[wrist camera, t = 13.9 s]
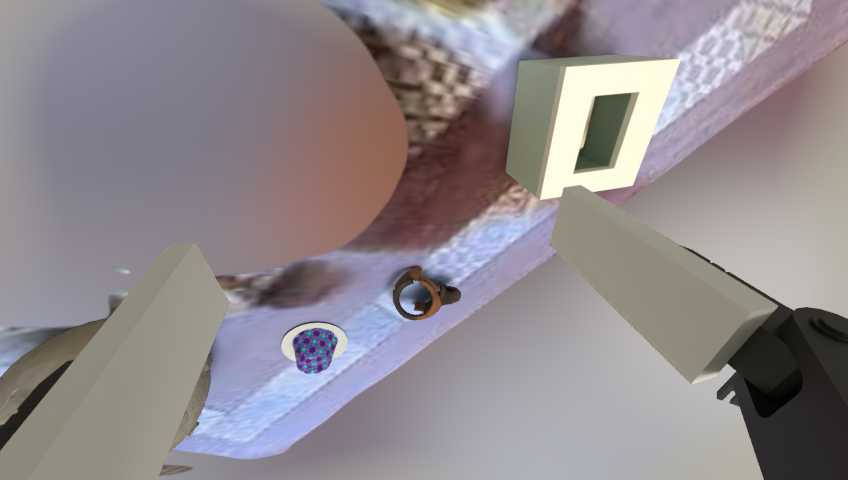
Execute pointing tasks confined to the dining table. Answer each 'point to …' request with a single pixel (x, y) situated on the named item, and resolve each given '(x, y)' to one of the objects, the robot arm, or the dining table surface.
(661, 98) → the slot box
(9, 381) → the bowl
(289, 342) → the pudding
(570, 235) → the robot arm
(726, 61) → the dining table surface
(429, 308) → the pottery mug
